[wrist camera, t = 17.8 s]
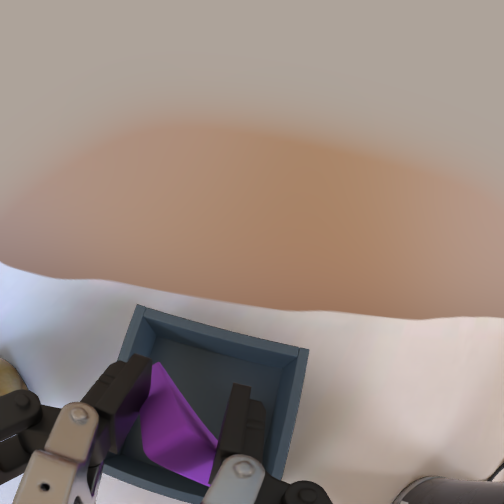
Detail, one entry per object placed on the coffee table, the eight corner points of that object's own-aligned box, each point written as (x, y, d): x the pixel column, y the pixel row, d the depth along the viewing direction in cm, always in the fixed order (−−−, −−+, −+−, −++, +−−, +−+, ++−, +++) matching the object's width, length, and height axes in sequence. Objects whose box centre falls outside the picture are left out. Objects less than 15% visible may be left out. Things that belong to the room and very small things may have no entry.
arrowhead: (207, 421, 20) (291, 519, 11) (188, 433, 19) (265, 537, 11) (126, 313, 16) (189, 428, 8) (102, 328, 16) (144, 456, 7)
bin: (290, 364, 29) (309, 349, 23) (259, 497, 22) (270, 518, 16) (152, 327, 29) (136, 303, 23) (114, 457, 22) (87, 465, 16)
